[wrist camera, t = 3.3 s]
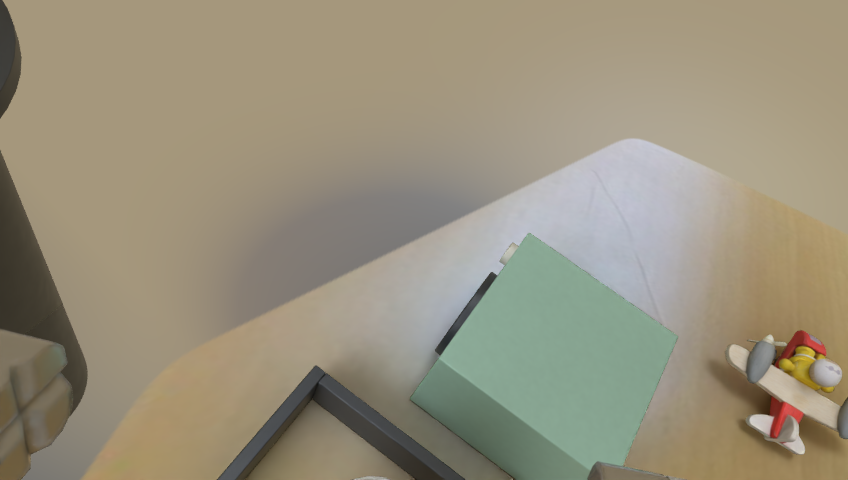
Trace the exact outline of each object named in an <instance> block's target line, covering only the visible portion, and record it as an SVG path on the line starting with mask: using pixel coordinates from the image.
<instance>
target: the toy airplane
mask: <svg viewBox="0 0 848 480" xmlns="http://www.w3.org/2000/svg"><path fill="white" fill-rule="evenodd" d="M747 341H750V342H756V345H755V346H754V348H753V349H752V351H751V352H750V351H748V350H747V349H745V348H743V347H741V346H739V345H737V344H731V345H728V347H727V348H726V351H725V354H726V359H727V361H728V362H729V364H730V365H732V366H733V367H734V368H736V369H737V370H738V371H739V372H741V373H742V374H743V375H745V376H746V377H747V379H748V381H749V382H750V383H755V384H756V385H758V386H759V387H760V388H762V389H763V390H765V391H766V392H767V393H768V394H770V395H771V396H772V398H771V405H770V416H769V415H765V414H752V415H749V416H747V418H746V423H747V424H748V425H749V426H750V427H752V428H753V429H755V430H757V431H758V432H760V433H762V434H763V435H764V439H766V440H767V441H774V442H776V443H778V444H780V445H781V446H783V447H784V448H786V449H788V450H789V451H791V452H792V453H794V454H799V455H802V454H804V452H805V446H804V444H803V442H802V440H801V439H800V437H799V436H798V434H799V423H800V421H801V420H802V418H803V415H804V416H806V417H808V418H810V419H812V420H814V421H816V422H818V423H820V424H822V425H824V426H826V427H828V428H830V429H832V430H834V431H836V432H839V436H840V437H841V438H843V439H848V398H847V399H846V400H845V402H844V403H843V405H842V406H839V405H837V404H836V403H834V402H833V401H831V400H829V399H827V398H826V397H824V396H823V395H821V394H819V393H818V392H816V390H818V389H820V388H821V390H822V391H824V392H826V393H830V392H832V391H833V390H834V386H835V385H837V384H838V383H839V382H840V380H841V378H842V371H841V368H840V367H839V365H838V364H837V363H835V362H834V361H832V360H830V359H826V357H825V356H826V349H825V347H824V345H823V344H822V342H821V341H819V340H818V339H817V338H815V337H813V336H812V335H810V334H808V333H806V332H804V331H797V332H796V333H795V334H794V336H793V337H792V339H791V341H790V342H789V343H788V345H787V344H786V343H785V342H774V339H773V336H772V335H767V336H766V337H765V338H764V339H762V340H761V341H756V340H747ZM775 346H787V347H786V348H785V349H784V351H783V352H782V354H781V356H779V357H778V358H777V359H775V357H776V354H777V351H776V350H775ZM774 360H775V362H774V365H775V366H773V365H771V363H772V361H774Z"/></svg>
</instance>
